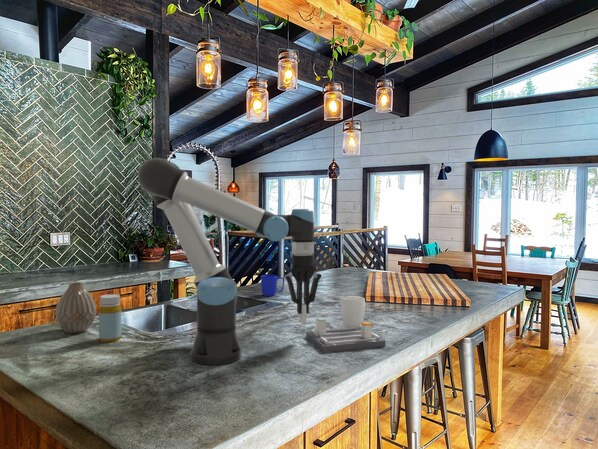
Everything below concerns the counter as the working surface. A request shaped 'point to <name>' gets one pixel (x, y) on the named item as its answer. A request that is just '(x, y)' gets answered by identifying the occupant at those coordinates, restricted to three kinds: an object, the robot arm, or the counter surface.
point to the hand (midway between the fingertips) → (303, 322)
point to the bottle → (110, 318)
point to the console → (343, 339)
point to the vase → (75, 309)
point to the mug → (270, 284)
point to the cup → (352, 311)
